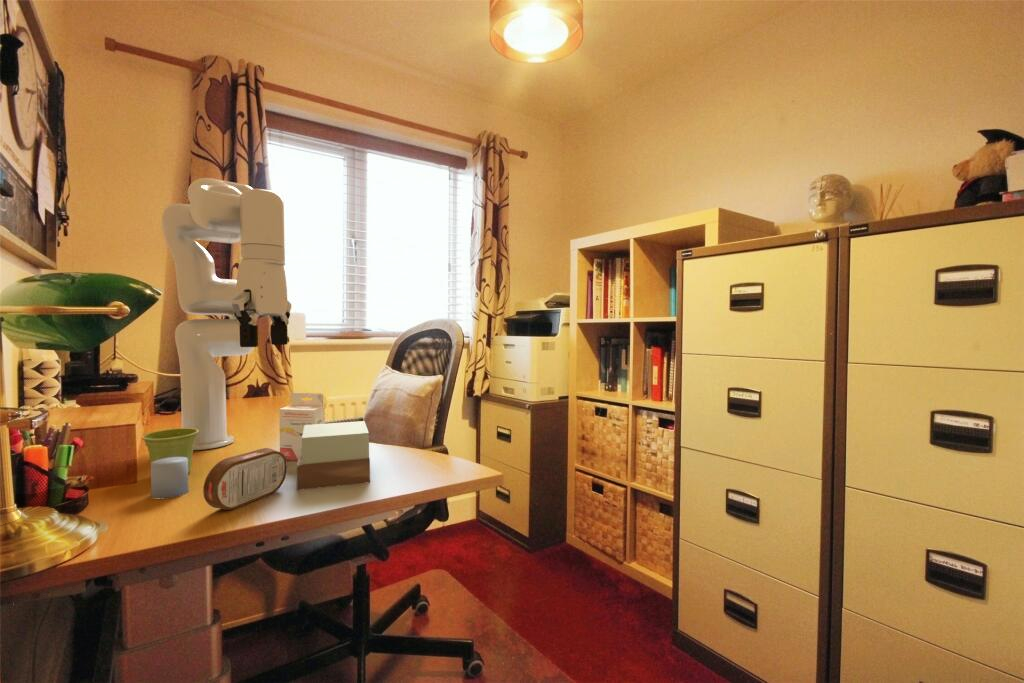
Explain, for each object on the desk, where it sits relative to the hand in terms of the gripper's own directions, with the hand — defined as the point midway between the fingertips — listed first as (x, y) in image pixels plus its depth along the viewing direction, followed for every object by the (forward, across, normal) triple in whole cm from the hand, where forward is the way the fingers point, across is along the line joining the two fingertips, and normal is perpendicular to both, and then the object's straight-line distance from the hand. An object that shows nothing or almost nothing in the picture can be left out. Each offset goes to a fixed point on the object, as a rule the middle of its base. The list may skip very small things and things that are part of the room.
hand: (265, 345), depth 94 cm
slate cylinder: (+26, +8, -13) cm, 31 cm away
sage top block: (+22, -5, +12) cm, 25 cm away
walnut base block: (+27, -4, +11) cm, 30 cm away
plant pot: (+27, -1, -21) cm, 34 cm away
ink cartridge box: (+27, -16, -2) cm, 31 cm away
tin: (+27, +10, +3) cm, 29 cm away
